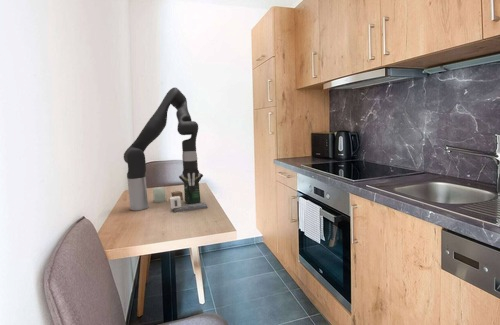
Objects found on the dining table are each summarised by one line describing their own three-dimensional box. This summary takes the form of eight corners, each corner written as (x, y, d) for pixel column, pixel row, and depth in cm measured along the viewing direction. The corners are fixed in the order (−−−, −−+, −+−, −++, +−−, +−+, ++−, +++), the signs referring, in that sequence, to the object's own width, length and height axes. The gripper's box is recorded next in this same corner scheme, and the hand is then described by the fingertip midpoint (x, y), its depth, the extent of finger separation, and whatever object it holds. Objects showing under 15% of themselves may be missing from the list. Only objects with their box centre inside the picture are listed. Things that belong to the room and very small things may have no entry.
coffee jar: (202, 202, 163) (200, 170, 161) (189, 205, 158) (187, 172, 156) (195, 199, 171) (193, 168, 169) (183, 201, 166) (180, 170, 164)
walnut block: (172, 200, 172) (171, 192, 172) (180, 198, 175) (179, 190, 174) (174, 201, 168) (174, 193, 168) (182, 200, 171) (182, 192, 170)
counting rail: (173, 208, 153) (173, 205, 152) (204, 204, 158) (204, 201, 158) (174, 212, 145) (174, 209, 145) (207, 207, 150) (207, 205, 150)
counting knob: (170, 206, 151) (169, 197, 150) (180, 205, 152) (179, 195, 152) (171, 208, 145) (170, 199, 145) (181, 207, 147) (180, 198, 146)
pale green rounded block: (153, 200, 174) (152, 187, 173) (165, 199, 176) (164, 186, 175) (153, 203, 167) (152, 189, 166) (166, 201, 169) (165, 188, 168)
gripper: (201, 158, 154) (203, 190, 156) (176, 160, 150) (178, 192, 152) (203, 159, 147) (205, 192, 148) (177, 161, 143) (179, 195, 145)
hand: (192, 192), depth 150 cm, fingers closed
